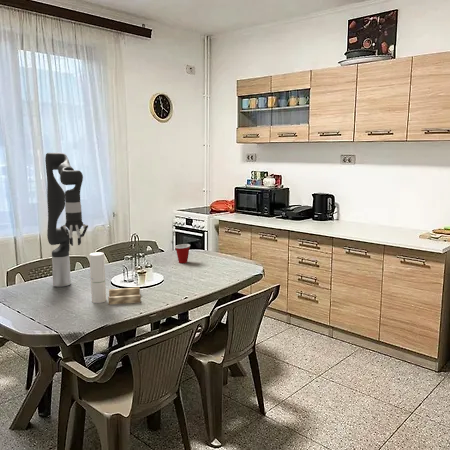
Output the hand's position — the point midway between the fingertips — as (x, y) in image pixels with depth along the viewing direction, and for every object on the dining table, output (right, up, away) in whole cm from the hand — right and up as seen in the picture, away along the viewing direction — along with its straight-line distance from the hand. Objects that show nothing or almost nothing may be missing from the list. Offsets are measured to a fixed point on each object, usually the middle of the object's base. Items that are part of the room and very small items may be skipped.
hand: (75, 244), depth 222 cm
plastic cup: (+46, -16, +82) cm, 95 cm away
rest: (+22, -29, +10) cm, 38 cm away
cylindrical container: (+10, -29, +8) cm, 32 cm away
